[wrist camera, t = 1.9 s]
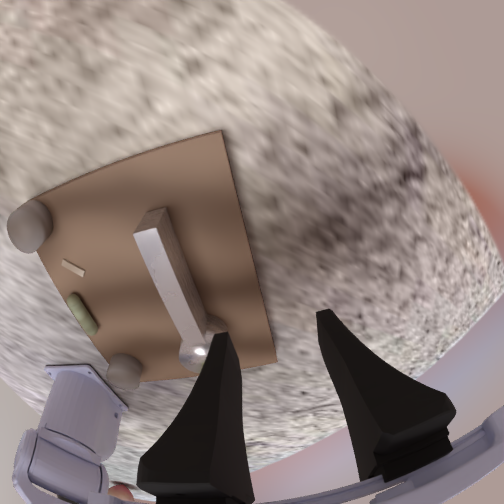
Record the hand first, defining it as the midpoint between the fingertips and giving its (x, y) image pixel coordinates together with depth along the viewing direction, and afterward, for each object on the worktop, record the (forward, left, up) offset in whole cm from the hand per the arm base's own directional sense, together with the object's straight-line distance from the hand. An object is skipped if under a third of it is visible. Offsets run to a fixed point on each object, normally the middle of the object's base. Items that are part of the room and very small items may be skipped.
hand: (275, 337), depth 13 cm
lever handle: (-2, +5, -8) cm, 10 cm away
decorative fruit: (-66, +53, -10) cm, 85 cm away
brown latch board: (-2, +9, -9) cm, 13 cm away
